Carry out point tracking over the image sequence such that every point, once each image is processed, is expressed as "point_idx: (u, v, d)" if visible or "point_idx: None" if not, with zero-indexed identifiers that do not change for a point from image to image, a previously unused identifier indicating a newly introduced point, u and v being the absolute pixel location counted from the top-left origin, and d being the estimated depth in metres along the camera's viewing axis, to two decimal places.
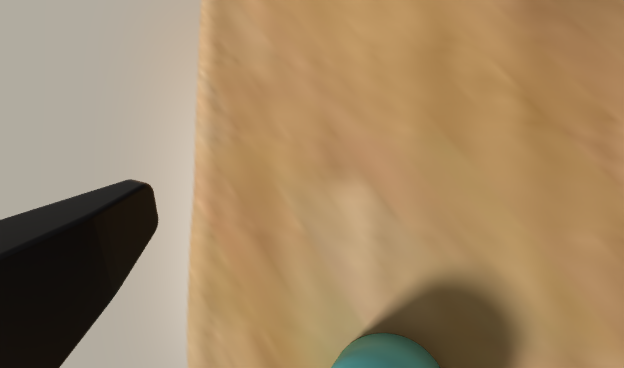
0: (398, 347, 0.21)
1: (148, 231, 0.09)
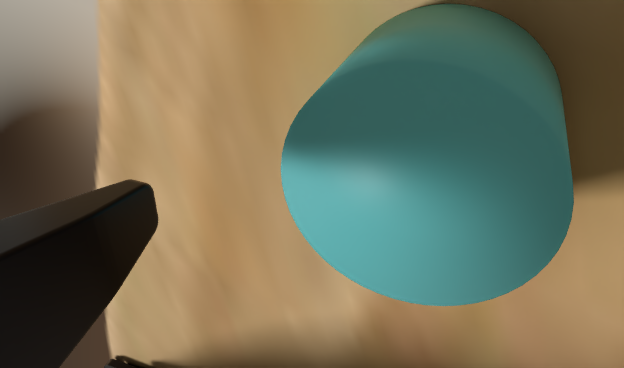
0: (523, 52, 0.10)
1: (148, 231, 0.09)
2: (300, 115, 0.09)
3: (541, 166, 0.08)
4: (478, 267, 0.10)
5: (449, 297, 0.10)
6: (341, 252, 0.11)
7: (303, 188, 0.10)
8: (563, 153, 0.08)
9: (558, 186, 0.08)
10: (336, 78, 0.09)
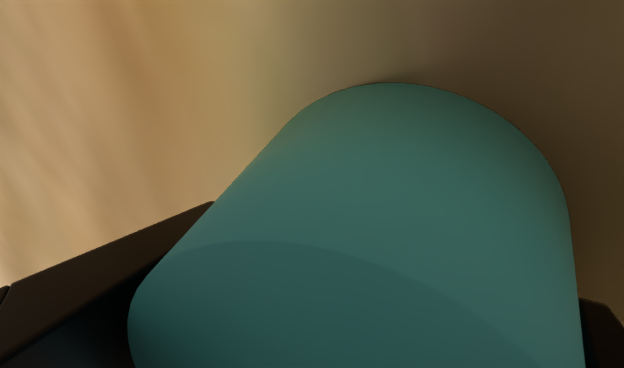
0: (509, 184, 0.06)
1: None
2: (140, 292, 0.06)
3: None
4: None
5: None
6: None
7: None
8: None
9: None
10: (184, 250, 0.05)
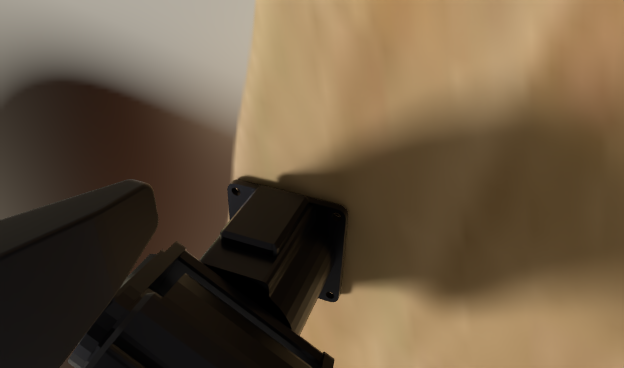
0: None
1: (148, 231, 0.09)
2: None
3: None
4: None
5: None
6: None
7: None
8: None
9: None
10: None
